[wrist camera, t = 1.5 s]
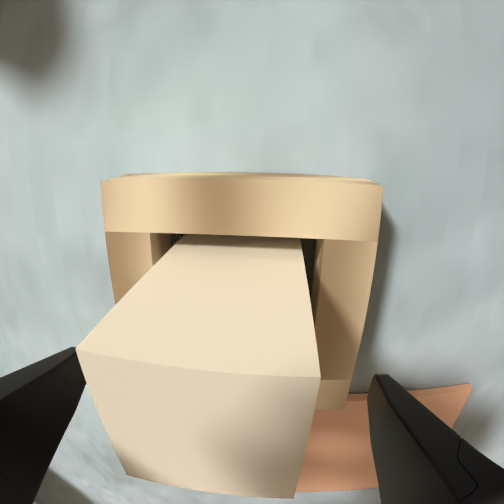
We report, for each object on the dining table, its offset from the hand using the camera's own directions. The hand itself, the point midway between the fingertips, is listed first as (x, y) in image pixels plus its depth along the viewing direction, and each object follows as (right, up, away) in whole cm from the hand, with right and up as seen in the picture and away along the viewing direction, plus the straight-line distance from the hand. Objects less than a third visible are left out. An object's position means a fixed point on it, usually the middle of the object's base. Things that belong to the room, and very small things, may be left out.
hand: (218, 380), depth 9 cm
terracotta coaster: (+9, -10, +9) cm, 16 cm away
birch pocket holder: (+1, +2, +6) cm, 7 cm away
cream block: (+1, +2, +6) cm, 7 cm away
